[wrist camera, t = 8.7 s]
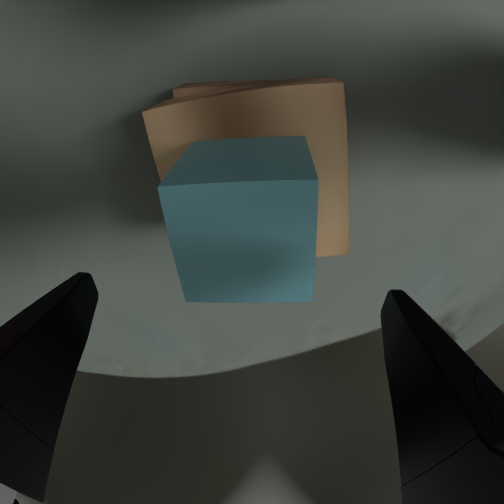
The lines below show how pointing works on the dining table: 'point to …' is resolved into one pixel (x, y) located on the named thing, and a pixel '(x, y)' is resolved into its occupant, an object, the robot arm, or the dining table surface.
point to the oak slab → (268, 125)
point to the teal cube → (243, 219)
